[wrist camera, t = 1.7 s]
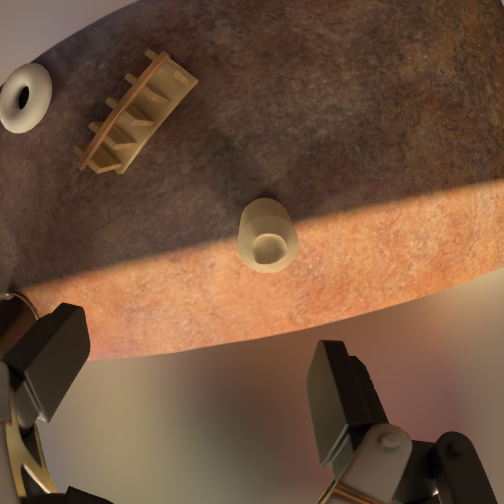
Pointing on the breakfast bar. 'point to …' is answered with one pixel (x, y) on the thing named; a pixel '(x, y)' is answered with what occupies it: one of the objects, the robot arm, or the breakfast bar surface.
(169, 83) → the toast rack
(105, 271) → the breakfast bar surface
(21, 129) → the donut
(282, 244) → the candle
